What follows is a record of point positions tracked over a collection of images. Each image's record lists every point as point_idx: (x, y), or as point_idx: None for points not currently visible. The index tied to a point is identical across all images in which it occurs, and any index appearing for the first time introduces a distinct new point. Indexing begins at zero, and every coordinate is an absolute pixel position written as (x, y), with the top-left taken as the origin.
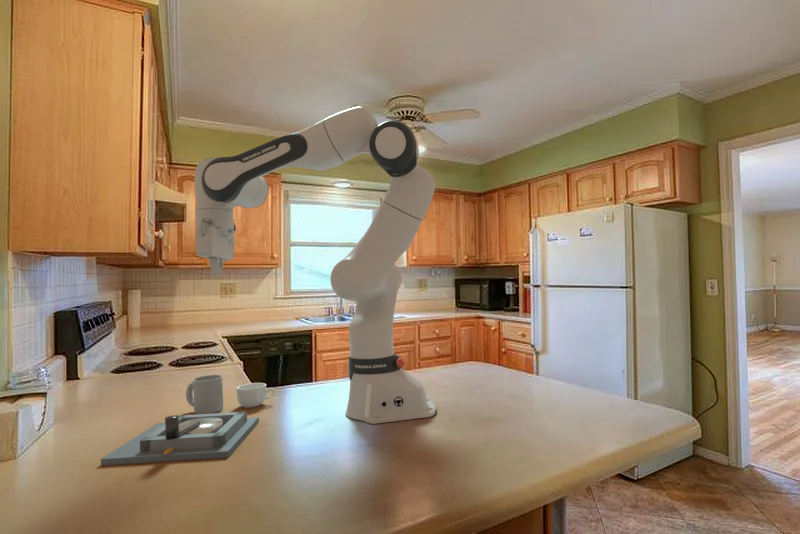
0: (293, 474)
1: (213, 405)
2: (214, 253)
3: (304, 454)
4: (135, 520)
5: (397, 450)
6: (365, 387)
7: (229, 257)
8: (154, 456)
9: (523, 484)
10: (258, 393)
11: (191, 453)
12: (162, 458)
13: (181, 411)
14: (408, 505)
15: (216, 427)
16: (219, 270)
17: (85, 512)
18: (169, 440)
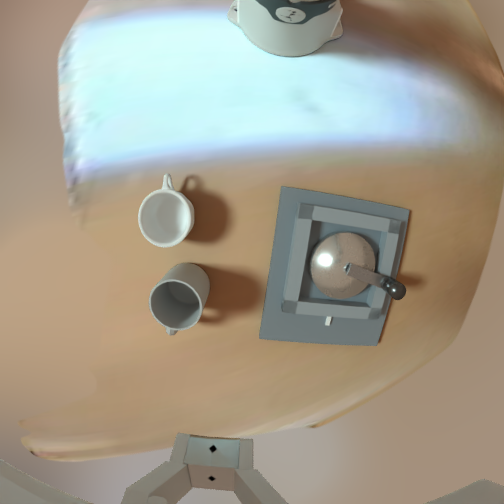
0: (455, 141)
1: (204, 276)
2: (465, 498)
3: (418, 125)
4: (481, 258)
5: (421, 41)
6: (337, 15)
7: (19, 480)
8: None
9: (471, 10)
10: (187, 200)
11: (401, 252)
12: None
13: None
14: (494, 79)
15: (361, 237)
16: (242, 462)
17: (459, 301)
18: None
